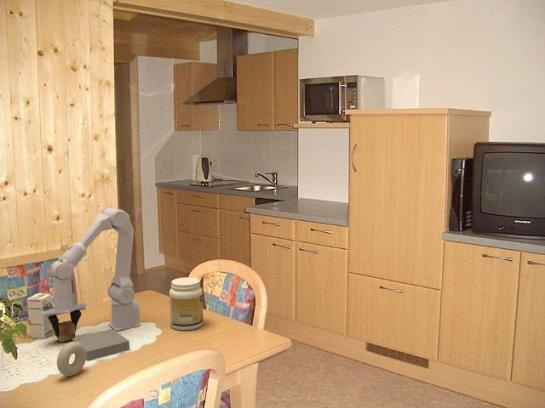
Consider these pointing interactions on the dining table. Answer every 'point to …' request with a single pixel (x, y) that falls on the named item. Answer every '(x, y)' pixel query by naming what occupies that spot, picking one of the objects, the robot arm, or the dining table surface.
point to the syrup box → (39, 315)
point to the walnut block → (66, 331)
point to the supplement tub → (186, 304)
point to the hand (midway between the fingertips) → (65, 333)
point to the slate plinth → (103, 343)
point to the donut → (65, 355)
